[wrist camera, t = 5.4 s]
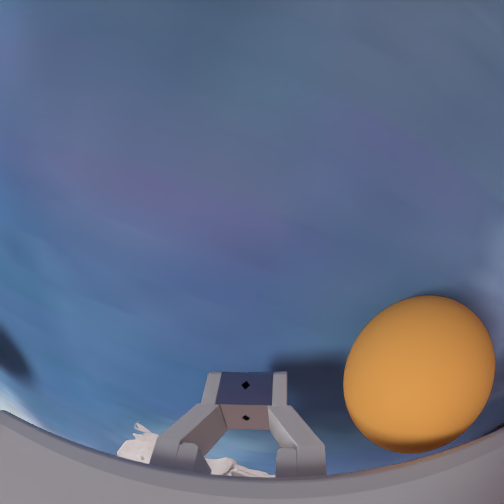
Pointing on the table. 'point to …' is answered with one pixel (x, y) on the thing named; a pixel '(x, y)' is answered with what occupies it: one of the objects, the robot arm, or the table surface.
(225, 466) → the terrain model
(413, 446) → the ball
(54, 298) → the table surface
